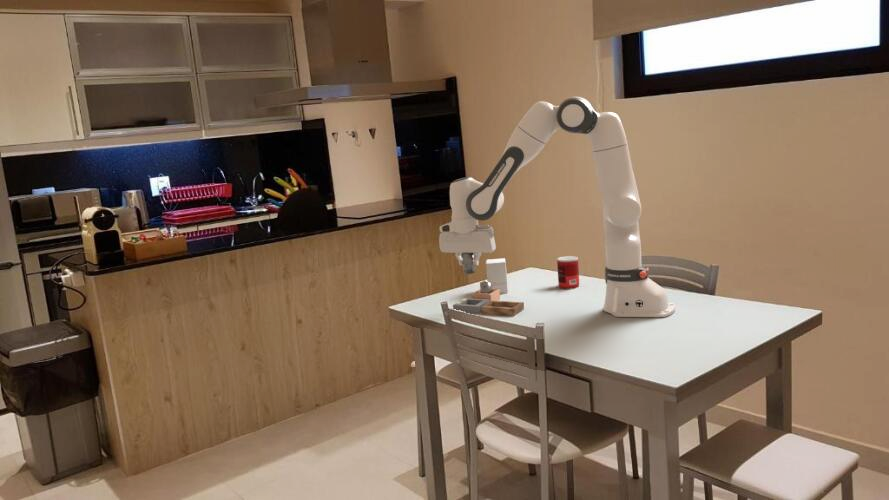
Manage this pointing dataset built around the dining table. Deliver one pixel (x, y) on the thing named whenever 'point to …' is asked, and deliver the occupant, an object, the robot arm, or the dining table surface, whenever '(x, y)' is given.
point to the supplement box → (497, 274)
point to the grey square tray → (471, 305)
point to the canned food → (568, 272)
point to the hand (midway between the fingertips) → (469, 265)
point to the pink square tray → (487, 295)
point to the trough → (503, 308)
